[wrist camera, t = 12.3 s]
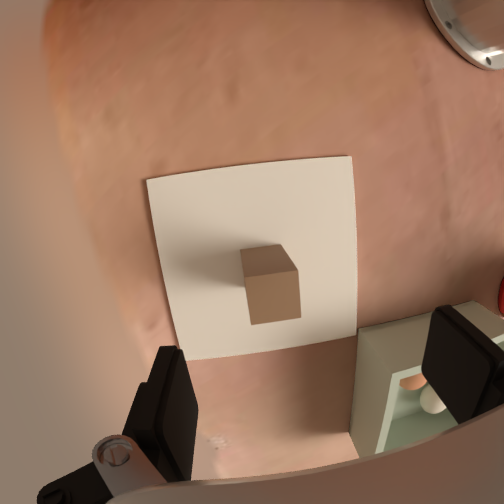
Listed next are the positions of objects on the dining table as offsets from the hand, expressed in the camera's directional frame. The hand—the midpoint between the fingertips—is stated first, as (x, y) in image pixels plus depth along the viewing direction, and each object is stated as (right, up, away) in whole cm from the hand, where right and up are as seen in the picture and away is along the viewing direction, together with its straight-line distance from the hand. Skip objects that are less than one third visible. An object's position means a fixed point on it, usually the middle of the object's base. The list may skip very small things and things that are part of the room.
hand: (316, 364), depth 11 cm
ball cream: (+17, -11, +16) cm, 26 cm away
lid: (-2, +3, +14) cm, 15 cm away
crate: (+15, -9, +18) cm, 25 cm away
